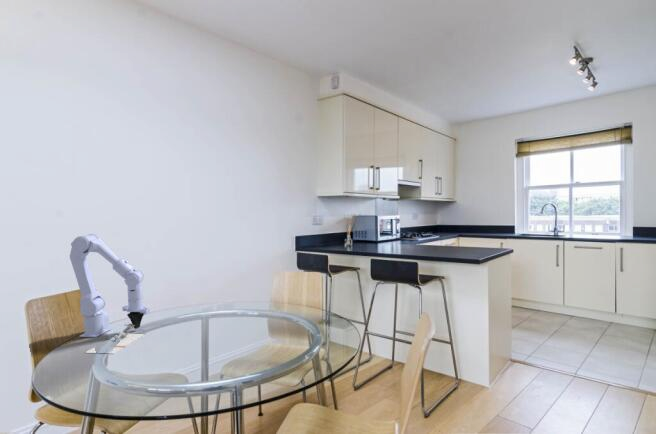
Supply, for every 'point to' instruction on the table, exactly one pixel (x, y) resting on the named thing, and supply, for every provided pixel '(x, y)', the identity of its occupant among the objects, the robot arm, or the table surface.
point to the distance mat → (122, 342)
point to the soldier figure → (124, 333)
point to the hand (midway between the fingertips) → (136, 327)
